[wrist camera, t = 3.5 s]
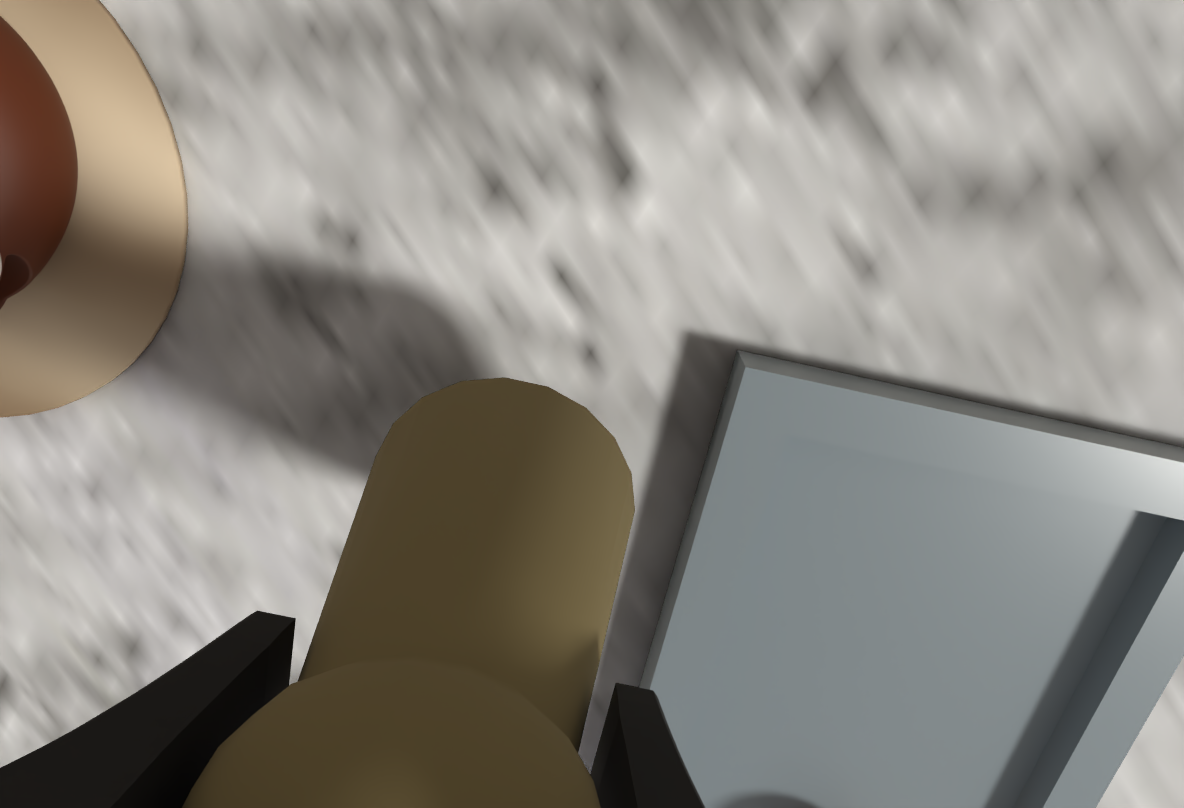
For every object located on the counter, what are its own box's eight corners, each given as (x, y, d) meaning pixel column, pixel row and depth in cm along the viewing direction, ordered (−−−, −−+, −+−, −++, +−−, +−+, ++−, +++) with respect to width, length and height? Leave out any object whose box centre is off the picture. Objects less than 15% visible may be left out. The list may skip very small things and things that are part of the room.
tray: (963, 959, 28) (982, 1003, 27) (581, 886, 28) (578, 927, 26) (1239, 460, 21) (1283, 484, 20) (737, 349, 21) (745, 367, 19)
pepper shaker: (321, 515, 18) (-57, 1051, 8) (473, 321, 16) (229, 703, 6) (527, 652, 20) (424, 1266, 9) (690, 487, 18) (781, 1030, 8)
